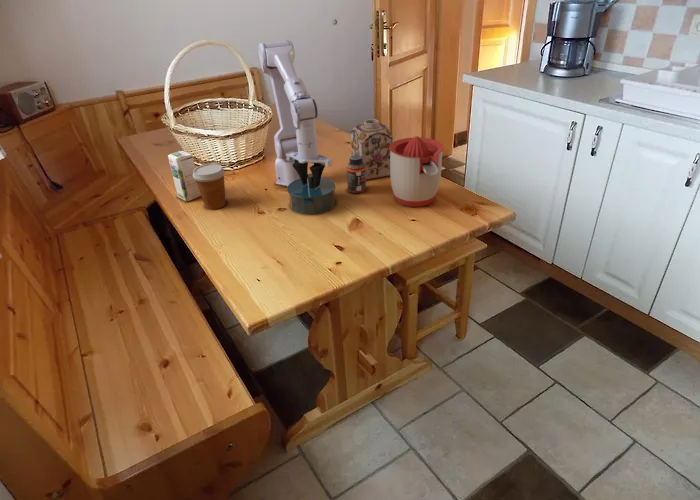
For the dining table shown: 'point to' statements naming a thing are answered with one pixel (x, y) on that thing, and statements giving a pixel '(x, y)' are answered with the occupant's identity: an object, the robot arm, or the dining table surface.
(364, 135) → the decorative jar
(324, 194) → the pot lid
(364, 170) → the supplement bottle
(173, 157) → the syrup box
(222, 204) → the disposable coffee cup
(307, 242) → the dining table surface
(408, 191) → the citrus juicer
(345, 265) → the dining table surface
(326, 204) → the pot
